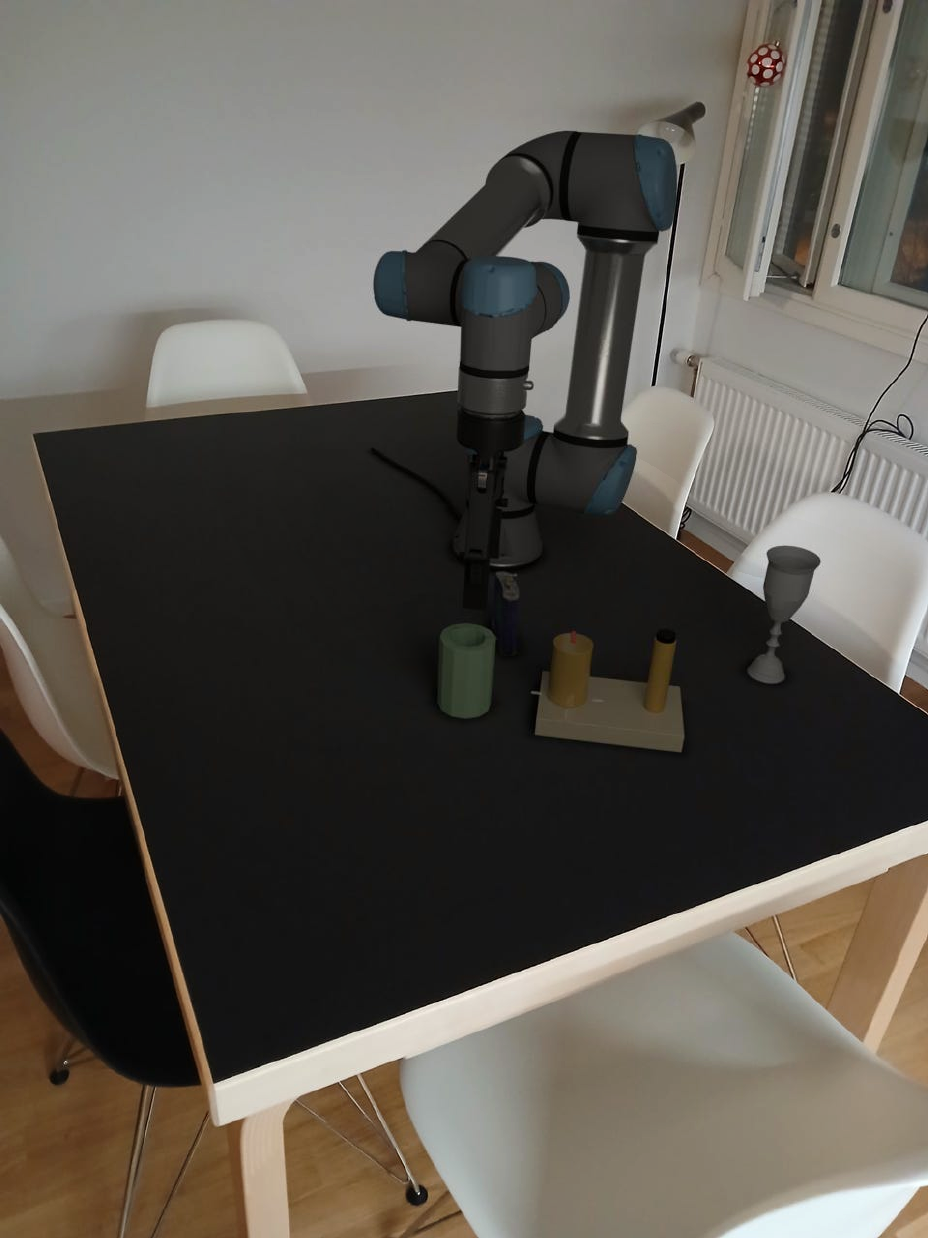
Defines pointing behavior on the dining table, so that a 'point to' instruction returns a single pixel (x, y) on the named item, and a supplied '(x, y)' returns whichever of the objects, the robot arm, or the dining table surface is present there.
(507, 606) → the flask
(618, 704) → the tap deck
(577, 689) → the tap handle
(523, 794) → the dining table surface
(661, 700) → the brown tall cylinder
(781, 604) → the chalice
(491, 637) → the sleeve
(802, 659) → the dining table surface
